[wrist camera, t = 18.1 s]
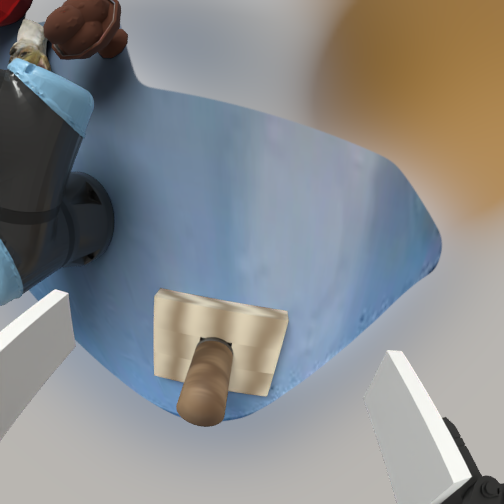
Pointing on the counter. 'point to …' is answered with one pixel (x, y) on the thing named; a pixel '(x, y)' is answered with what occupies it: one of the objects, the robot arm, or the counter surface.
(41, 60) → the ceramic sculpture
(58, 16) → the ice cream bowl
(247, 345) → the birch board
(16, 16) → the bottle
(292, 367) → the counter surface
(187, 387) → the walnut peg
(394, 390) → the robot arm
